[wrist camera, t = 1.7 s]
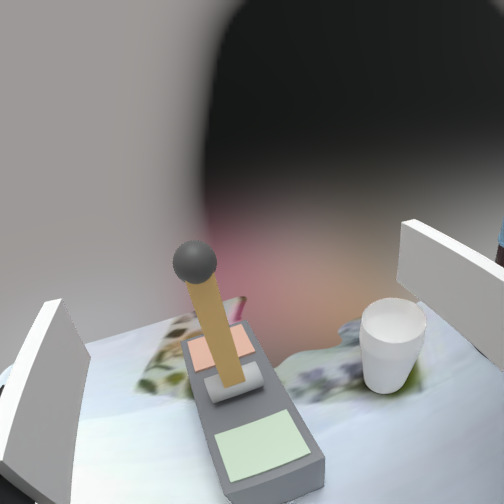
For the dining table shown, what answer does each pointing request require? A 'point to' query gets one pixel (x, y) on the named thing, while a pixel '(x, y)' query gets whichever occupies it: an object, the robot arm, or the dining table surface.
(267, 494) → the breaker box
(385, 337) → the cup
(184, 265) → the lever
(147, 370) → the dining table surface
